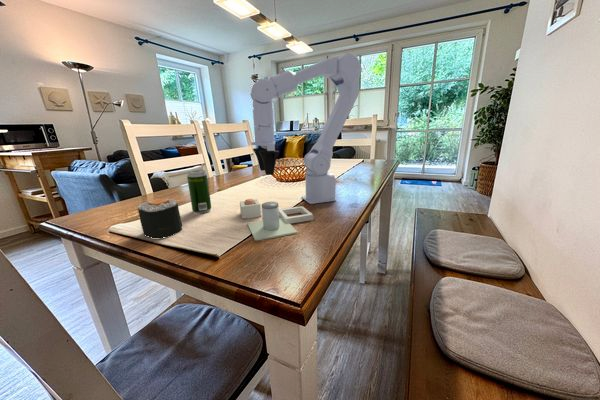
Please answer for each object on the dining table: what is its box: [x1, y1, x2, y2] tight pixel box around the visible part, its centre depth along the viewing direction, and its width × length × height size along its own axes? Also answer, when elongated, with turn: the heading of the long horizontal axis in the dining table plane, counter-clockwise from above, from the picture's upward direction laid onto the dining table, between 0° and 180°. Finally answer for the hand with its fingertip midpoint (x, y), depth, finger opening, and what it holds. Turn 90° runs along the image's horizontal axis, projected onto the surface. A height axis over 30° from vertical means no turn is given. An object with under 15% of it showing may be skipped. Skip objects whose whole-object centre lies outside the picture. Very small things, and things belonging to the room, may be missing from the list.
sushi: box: [136, 198, 183, 239], centre depth 60 cm, size 8×8×8 cm
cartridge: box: [261, 201, 280, 231], centre depth 60 cm, size 4×4×6 cm
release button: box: [244, 198, 255, 205], centre depth 70 cm, size 2×2×2 cm
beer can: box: [186, 169, 212, 215], centre depth 73 cm, size 5×5×12 cm
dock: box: [279, 205, 314, 225], centre depth 68 cm, size 8×8×2 cm
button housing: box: [239, 199, 262, 219], centre depth 70 cm, size 5×5×4 cm
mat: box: [247, 217, 298, 242], centre depth 61 cm, size 10×10×1 cm
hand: (266, 172), depth 76 cm, fingers open, 7 cm apart
